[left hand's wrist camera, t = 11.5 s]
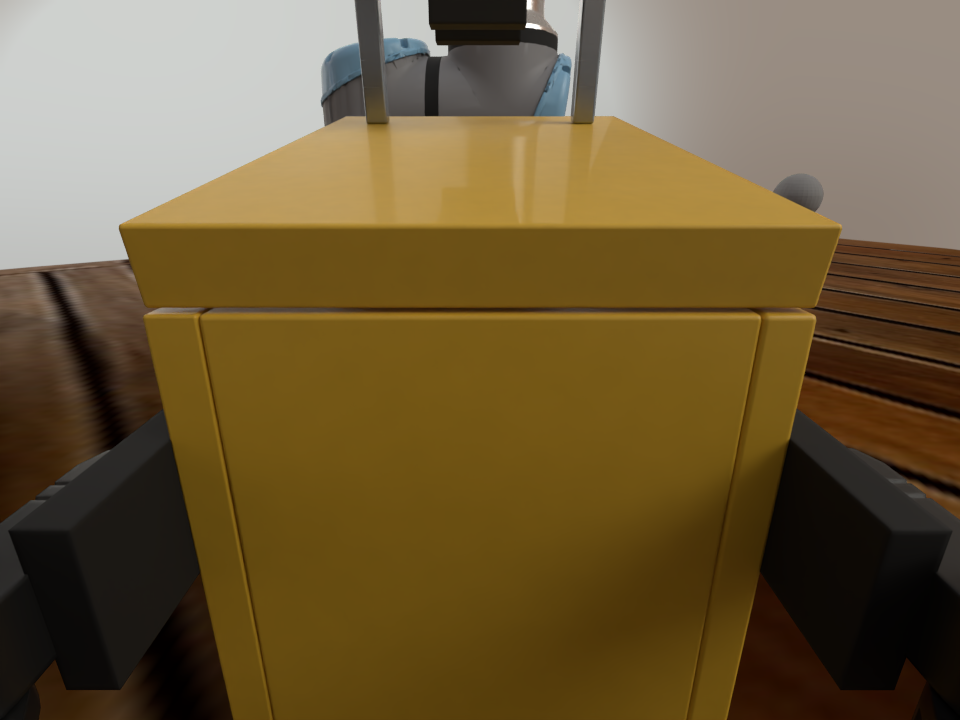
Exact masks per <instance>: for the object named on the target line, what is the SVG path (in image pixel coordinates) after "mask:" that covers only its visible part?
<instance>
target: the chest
mask: <svg viewBox="0 0 960 720" xmlns="http://www.w3.org/2000/svg"><path fill="white" fill-rule="evenodd" d="M143 321H144V325H145V330H146V334H147V338H148V343H149V347H150V352H151V356H152V361H153V365H154V370H155V374H156V378H157V383H158V387H159V392H160V396H161V401H162V405H163V410H164V414H165V419H166V423H167V427H168V432H169V436H170V440H171V444H172V449H173V453H174V458H175V462H176V467H177V471H178V476H179V480H180V484H181V489H182V493H183V498H184V502H185V507H186V511H187V516H188V520H189V525H190V529H191V533H192V538H193V542H194V547H195V551H196V556H197V560H198V565H199V569H200V574H201V579H202V583H203V588H204V592H205V597H206V601H207V606H208V610H209V614H210V619H211V623H212V628H213V632H214V637H215V641H216V646H217V650H218V655H219V659H220V663H221V668H222V672H223V677H224V681H225V686H226V690H227V695H228V699H229V703H230V708H231V712H232V717H233V720H727V715H728V711H729V707H730V702H731V698H732V693H733V689H734V684H735V680H736V675H737V671H738V667H739V662H740V658H741V653H742V649H743V644H744V640H745V635H746V631H747V626H748V622H749V618H750V613H751V609H752V604H753V600H754V595H755V591H756V586H757V582H758V577H759V573H760V569H761V564H762V560H763V555H764V551H765V546H766V542H767V537H768V533H769V528H770V524H771V520H772V515H773V511H774V506H775V502H776V497H777V493H778V488H779V484H780V480H781V475H782V471H783V466H784V462H785V457H786V453H787V448H788V444H789V439H790V435H791V431H792V426H793V422H794V417H795V413H796V408H797V404H798V399H799V395H800V390H801V386H802V382H803V377H804V373H805V368H806V364H807V359H808V355H809V350H810V346H811V342H812V337H813V333H814V328H815V324H816V317H815V315H813V314H811V313H808V312H806V311H804V310H802V309H800V308H159V309H157V310H155V311H152V312H150V313H148V314H146V315H144V316H143Z"/></svg>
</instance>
